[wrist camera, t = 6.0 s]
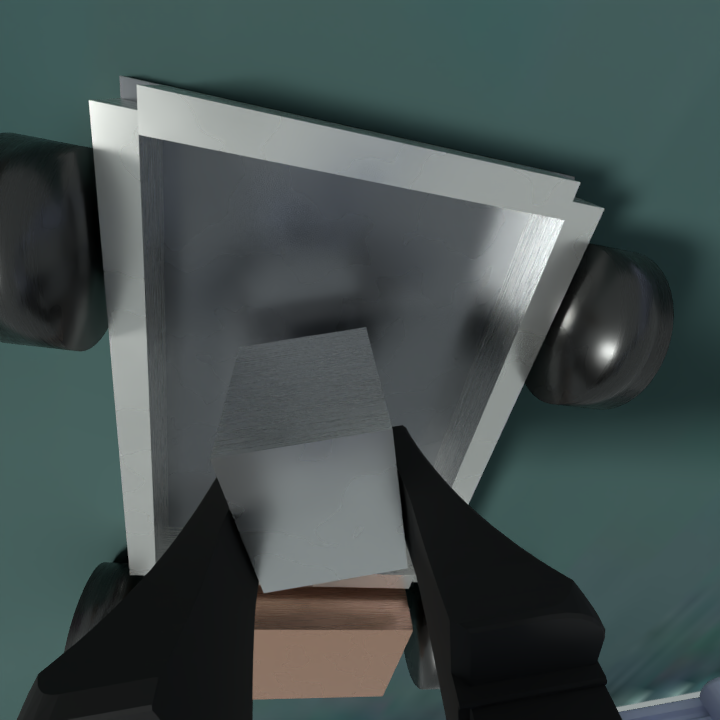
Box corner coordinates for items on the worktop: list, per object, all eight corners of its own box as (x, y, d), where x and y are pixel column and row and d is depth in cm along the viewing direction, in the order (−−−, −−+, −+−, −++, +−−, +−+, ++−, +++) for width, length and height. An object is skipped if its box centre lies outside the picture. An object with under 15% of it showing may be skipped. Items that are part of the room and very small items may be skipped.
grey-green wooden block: (365, 327, 14) (392, 429, 10) (381, 446, 17) (407, 568, 12) (239, 347, 14) (209, 459, 10) (274, 464, 17) (263, 593, 12)
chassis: (618, 186, 14) (748, 226, 10) (418, 616, 26) (439, 718, 22) (48, 58, 11) (-109, 41, 7) (115, 613, 23) (72, 731, 19)
